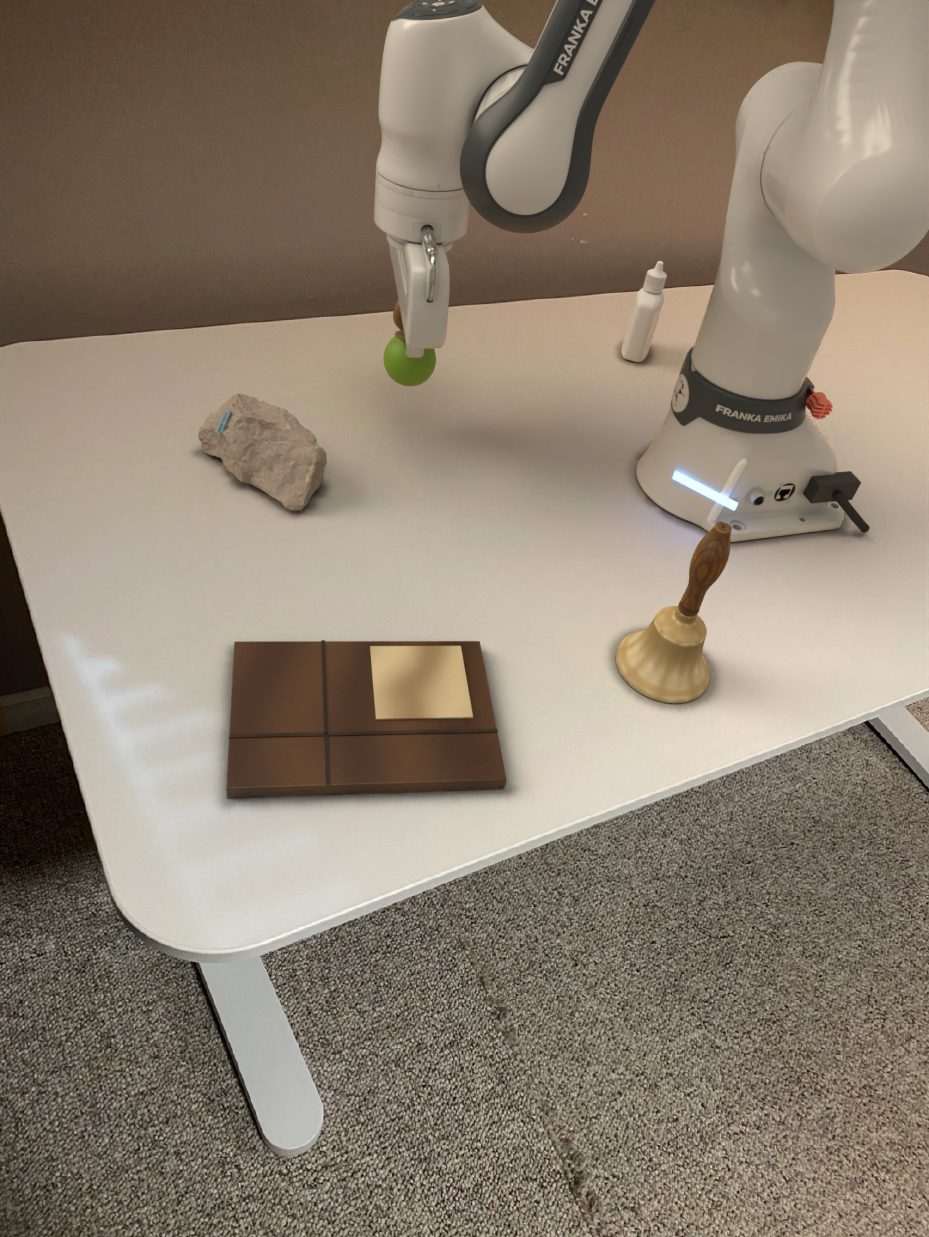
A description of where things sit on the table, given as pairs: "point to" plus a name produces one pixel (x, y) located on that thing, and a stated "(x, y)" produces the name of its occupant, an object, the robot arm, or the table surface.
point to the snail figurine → (406, 358)
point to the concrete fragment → (265, 449)
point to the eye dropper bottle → (644, 315)
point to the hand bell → (677, 633)
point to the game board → (360, 718)
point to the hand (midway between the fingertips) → (411, 343)
